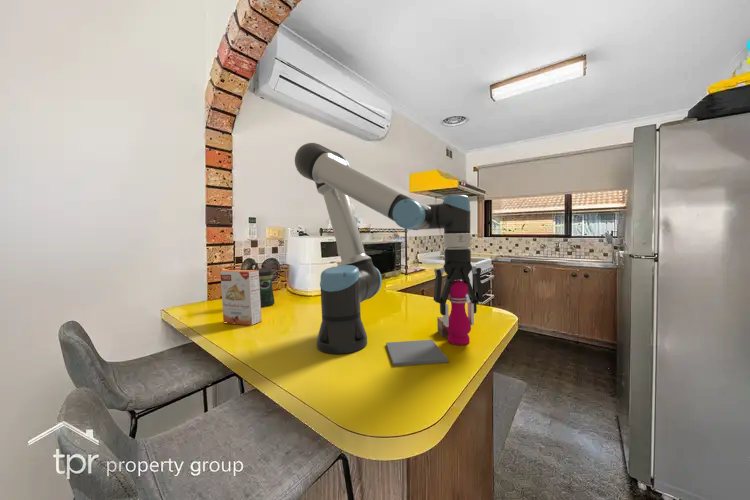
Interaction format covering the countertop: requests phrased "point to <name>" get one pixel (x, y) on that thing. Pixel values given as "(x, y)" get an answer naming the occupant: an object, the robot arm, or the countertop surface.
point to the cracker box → (241, 296)
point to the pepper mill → (458, 314)
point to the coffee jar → (266, 287)
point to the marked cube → (442, 327)
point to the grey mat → (415, 353)
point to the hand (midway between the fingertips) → (458, 324)
